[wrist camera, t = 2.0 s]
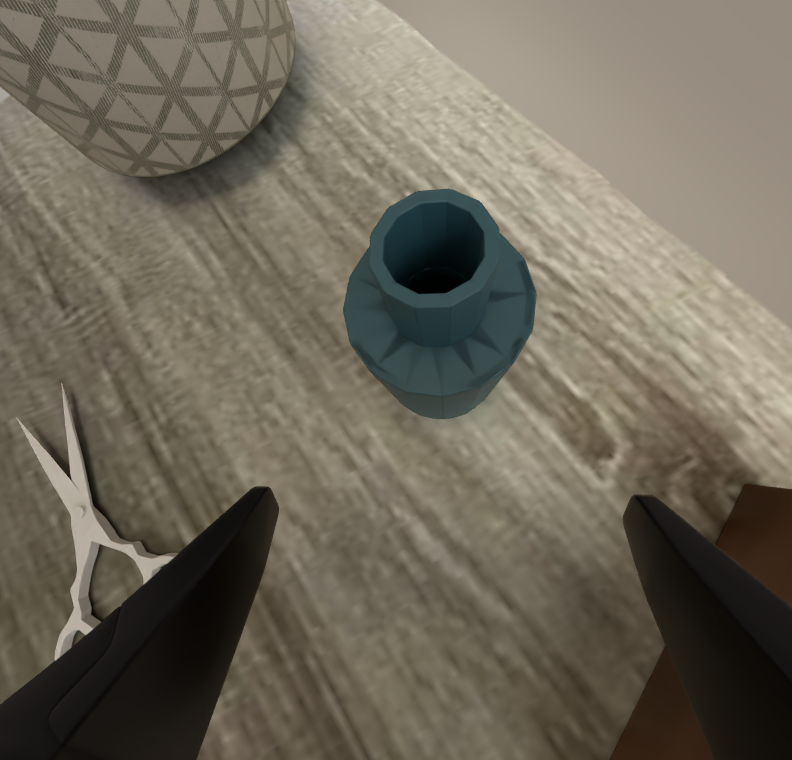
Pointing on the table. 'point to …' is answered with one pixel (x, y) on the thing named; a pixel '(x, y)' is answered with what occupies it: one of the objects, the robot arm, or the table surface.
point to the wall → (664, 694)
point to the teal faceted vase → (439, 303)
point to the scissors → (86, 531)
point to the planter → (147, 74)
